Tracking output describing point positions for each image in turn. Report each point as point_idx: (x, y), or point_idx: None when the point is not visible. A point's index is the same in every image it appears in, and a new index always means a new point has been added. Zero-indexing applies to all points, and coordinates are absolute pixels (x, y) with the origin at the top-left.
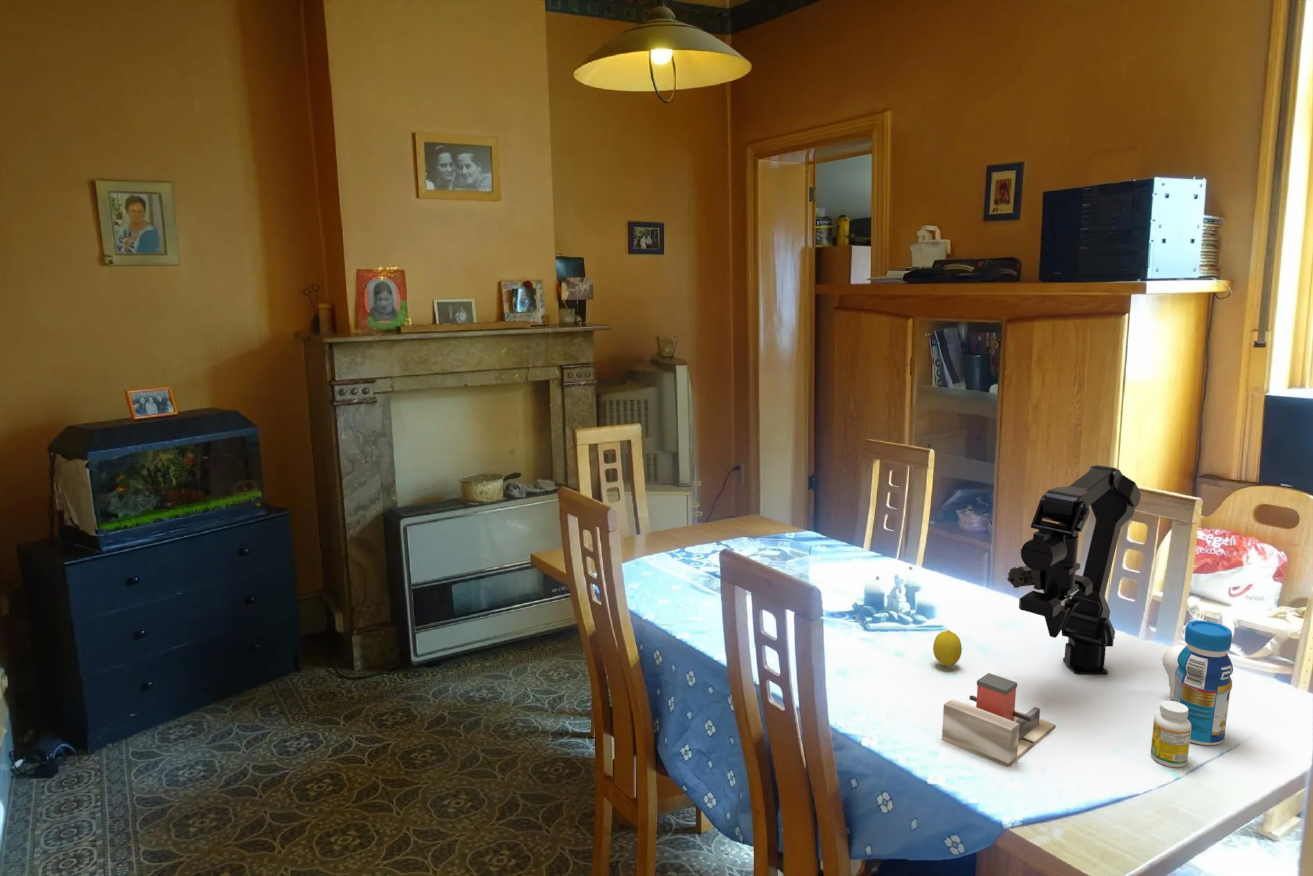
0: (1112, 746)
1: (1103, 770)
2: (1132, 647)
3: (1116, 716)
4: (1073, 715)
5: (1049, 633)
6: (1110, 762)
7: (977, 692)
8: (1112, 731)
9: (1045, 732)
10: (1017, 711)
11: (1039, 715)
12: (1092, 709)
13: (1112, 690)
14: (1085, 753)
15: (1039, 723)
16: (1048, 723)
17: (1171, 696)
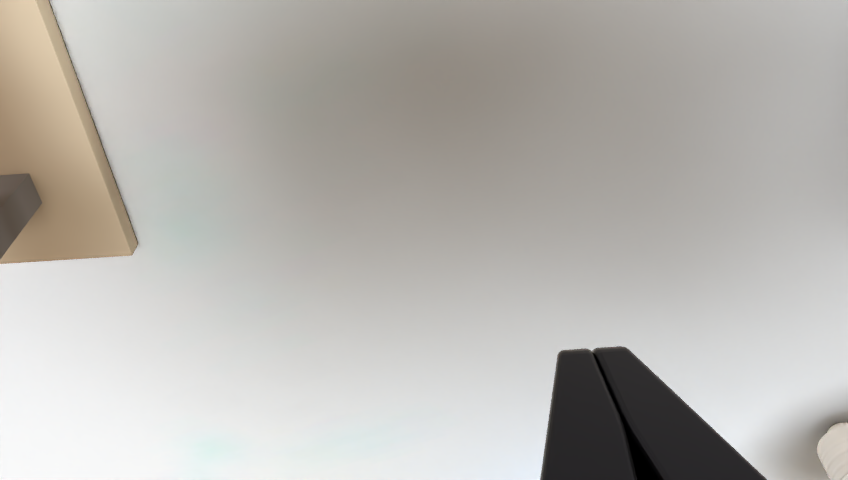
0: (228, 430)
1: (28, 471)
2: None
3: (508, 351)
4: (351, 239)
5: (557, 384)
6: (106, 464)
7: None
8: (351, 389)
9: (3, 261)
10: (34, 43)
11: (14, 236)
12: (497, 267)
13: (806, 240)
14: (68, 400)
15: (51, 200)
16: (101, 230)
17: (831, 440)
